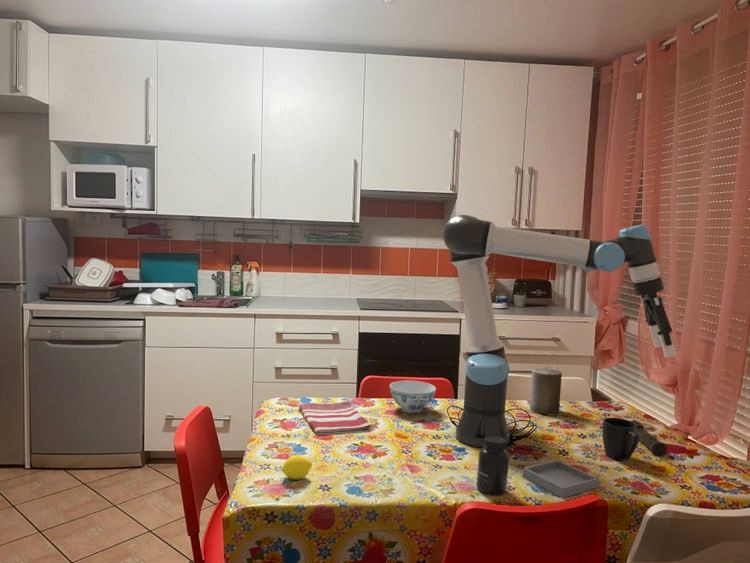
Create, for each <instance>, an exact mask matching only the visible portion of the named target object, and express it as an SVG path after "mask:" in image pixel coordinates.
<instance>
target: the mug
mask: <svg viewBox="0 0 750 563" xmlns="http://www.w3.org/2000/svg"><path fill="white" fill-rule="evenodd" d="M631 421H632V420H628V419H624V418H619V417H605V418H604V419H603V422H602V431H601V432H602V443H603V448H604V451H605V452H604V453H605V456H606V457H607V458H610V459H612V460H615V461H627V460H629V459H630V458H631V457H632V455H633V453H634V452H635V450H636V448H638V445H639V442H640V440H639V435H638V434H637V433H636V424H635V423H633V422H631Z"/></svg>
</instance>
